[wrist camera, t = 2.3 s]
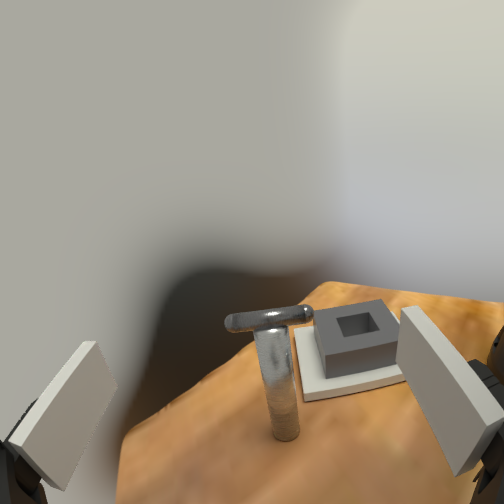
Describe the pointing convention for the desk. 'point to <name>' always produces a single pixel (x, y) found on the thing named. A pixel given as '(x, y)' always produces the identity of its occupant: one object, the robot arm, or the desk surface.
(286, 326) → the chuck key
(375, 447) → the desk surface
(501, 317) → the desk surface
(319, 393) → the chuck block
